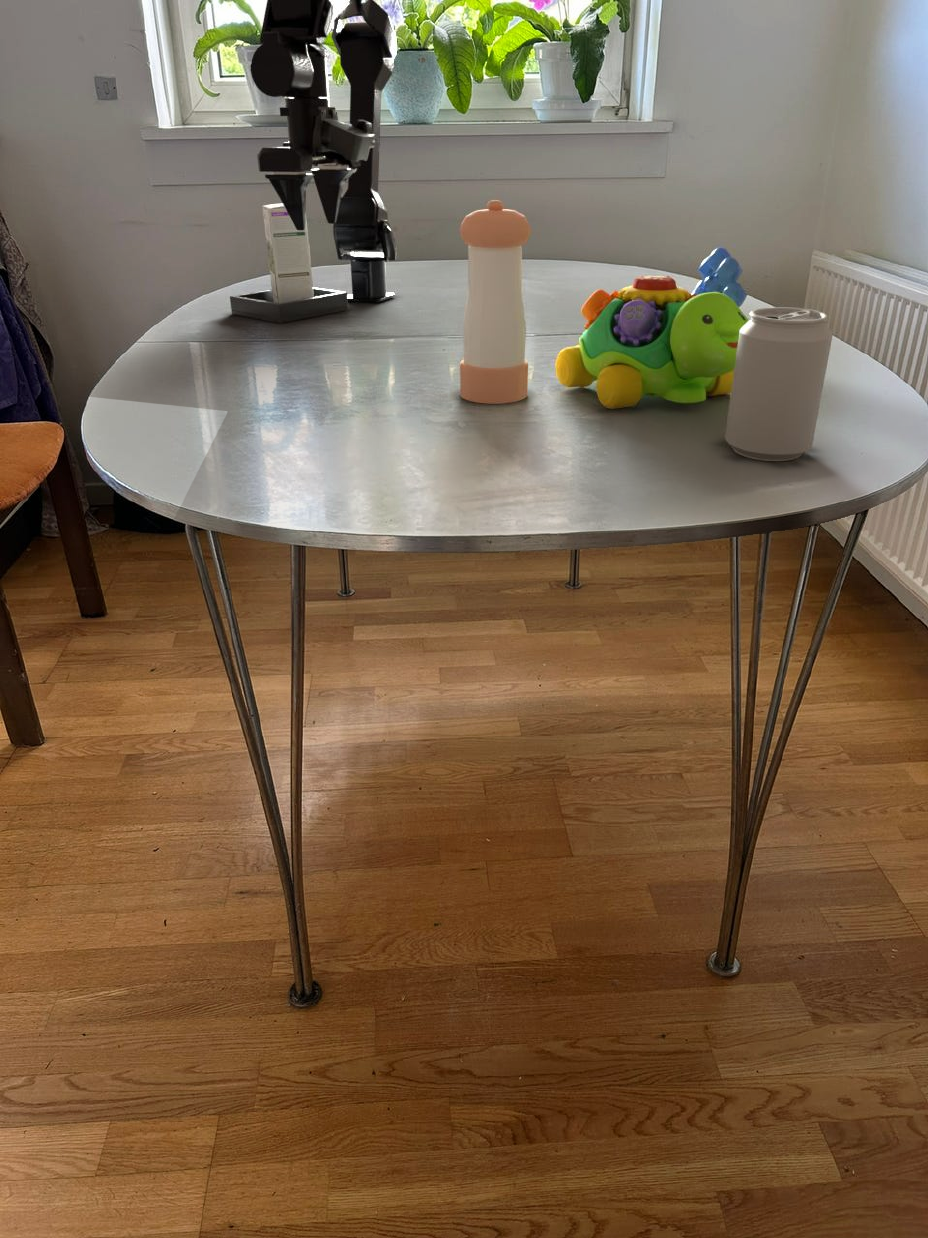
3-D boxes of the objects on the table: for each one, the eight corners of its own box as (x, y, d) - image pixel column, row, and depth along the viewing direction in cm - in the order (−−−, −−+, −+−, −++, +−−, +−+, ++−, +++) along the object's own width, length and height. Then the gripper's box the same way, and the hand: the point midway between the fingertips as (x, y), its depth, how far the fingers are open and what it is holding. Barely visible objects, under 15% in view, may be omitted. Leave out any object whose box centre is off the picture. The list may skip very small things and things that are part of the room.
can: (712, 438, 85) (729, 304, 79) (790, 436, 85) (813, 302, 80) (740, 465, 78) (761, 321, 72) (825, 462, 79) (853, 318, 73)
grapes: (665, 340, 122) (674, 243, 116) (712, 337, 123) (724, 242, 117) (699, 359, 112) (711, 255, 106) (750, 357, 113) (765, 253, 107)
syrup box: (316, 308, 141) (307, 205, 134) (277, 310, 139) (267, 206, 132) (308, 301, 146) (300, 202, 139) (271, 304, 144) (261, 203, 137)
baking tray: (298, 301, 150) (297, 284, 148) (348, 309, 143) (347, 292, 142) (231, 313, 140) (229, 296, 139) (281, 323, 134) (279, 304, 133)
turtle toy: (654, 437, 85) (666, 306, 80) (538, 379, 104) (542, 270, 98) (797, 415, 91) (818, 291, 86) (663, 364, 110) (673, 260, 104)
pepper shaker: (454, 402, 96) (452, 203, 87) (465, 385, 102) (464, 197, 93) (523, 405, 95) (528, 203, 86) (530, 387, 101) (536, 197, 92)
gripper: (329, 96, 110) (338, 235, 118) (391, 98, 126) (396, 221, 133) (248, 97, 114) (262, 233, 121) (319, 99, 129) (327, 219, 136)
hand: (316, 226), depth 128 cm, fingers open, 9 cm apart
